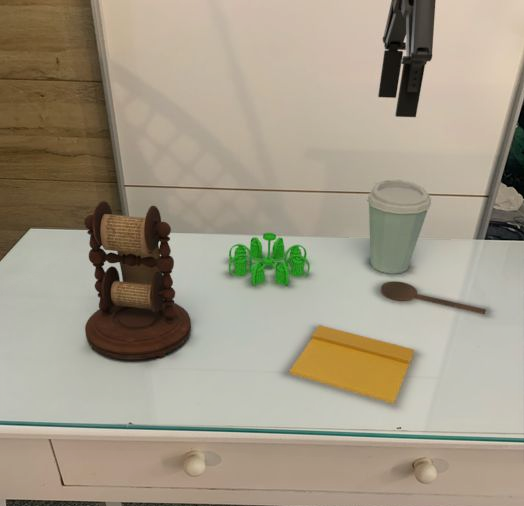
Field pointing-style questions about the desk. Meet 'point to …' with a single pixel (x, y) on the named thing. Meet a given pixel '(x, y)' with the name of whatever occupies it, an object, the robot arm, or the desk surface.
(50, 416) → the desk surface
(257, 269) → the chandelier
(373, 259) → the disposable coffee cup
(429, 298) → the spoon
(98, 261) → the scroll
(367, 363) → the envelope
